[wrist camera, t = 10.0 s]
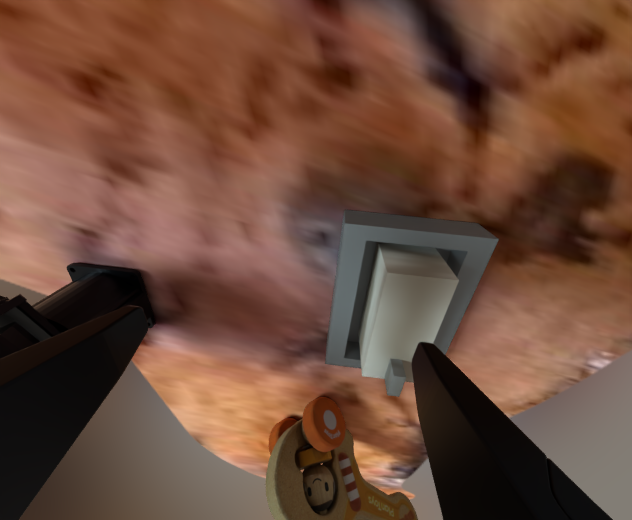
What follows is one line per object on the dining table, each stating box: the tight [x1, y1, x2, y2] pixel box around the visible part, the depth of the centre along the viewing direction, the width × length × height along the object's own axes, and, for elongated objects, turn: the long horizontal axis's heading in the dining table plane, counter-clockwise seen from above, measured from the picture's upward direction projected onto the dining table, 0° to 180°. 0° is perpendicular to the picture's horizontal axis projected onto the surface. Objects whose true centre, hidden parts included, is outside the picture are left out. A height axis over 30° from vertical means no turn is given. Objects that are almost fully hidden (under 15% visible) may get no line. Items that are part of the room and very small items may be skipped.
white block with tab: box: [359, 242, 459, 397], centre depth 18 cm, size 4×9×6 cm, turn 176°
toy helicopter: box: [266, 397, 418, 520], centre depth 26 cm, size 8×21×14 cm, turn 50°
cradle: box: [325, 210, 499, 368], centre depth 20 cm, size 9×13×3 cm
